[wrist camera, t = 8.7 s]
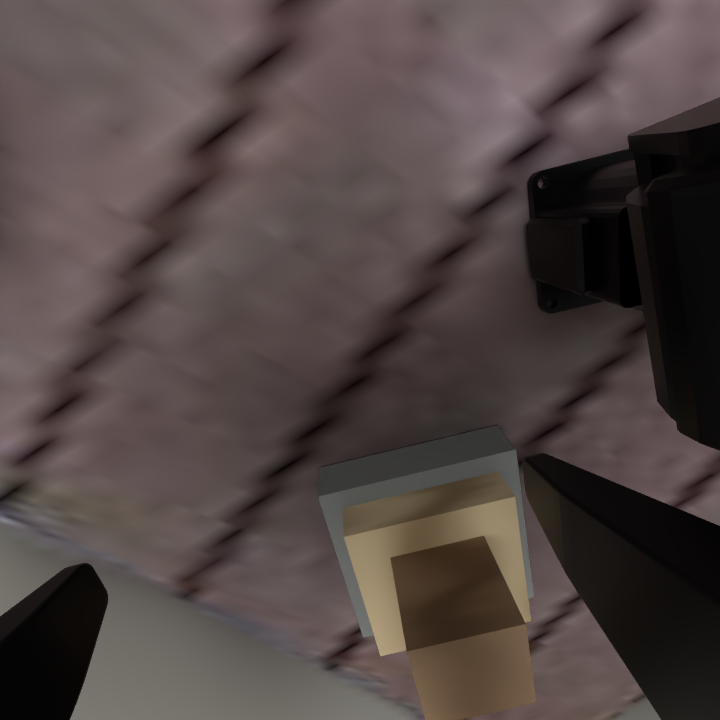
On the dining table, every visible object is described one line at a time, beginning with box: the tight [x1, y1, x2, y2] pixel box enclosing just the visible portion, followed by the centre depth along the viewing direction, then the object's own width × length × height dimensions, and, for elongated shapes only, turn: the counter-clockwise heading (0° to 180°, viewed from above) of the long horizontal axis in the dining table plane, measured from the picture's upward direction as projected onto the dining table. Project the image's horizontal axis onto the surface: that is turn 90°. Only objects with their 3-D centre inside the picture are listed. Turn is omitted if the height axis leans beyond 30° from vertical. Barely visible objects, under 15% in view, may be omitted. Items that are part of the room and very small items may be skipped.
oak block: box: [343, 471, 531, 656], centre depth 21 cm, size 8×8×2 cm
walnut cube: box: [390, 536, 536, 720], centre depth 18 cm, size 4×4×4 cm
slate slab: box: [318, 425, 534, 637], centre depth 24 cm, size 10×10×2 cm
